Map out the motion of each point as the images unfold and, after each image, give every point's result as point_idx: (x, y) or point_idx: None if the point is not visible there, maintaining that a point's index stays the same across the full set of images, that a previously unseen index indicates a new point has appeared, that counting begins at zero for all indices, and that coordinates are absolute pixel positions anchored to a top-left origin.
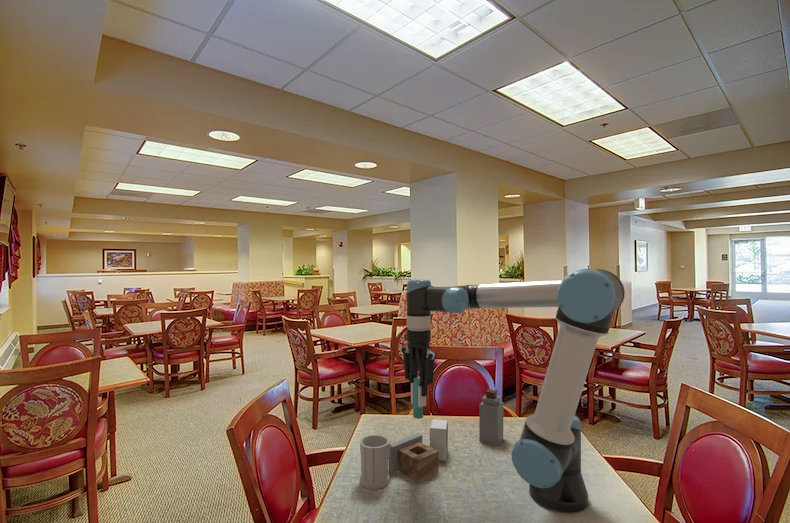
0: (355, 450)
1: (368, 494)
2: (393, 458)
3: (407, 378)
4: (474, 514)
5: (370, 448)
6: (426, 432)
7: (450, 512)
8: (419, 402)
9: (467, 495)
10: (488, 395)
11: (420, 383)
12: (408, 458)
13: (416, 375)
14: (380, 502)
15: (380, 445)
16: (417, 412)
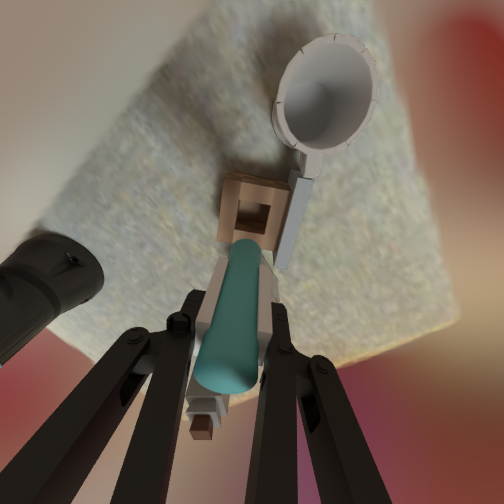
0: (412, 193)
1: (284, 58)
2: (293, 175)
3: (311, 359)
4: (100, 150)
5: (310, 42)
6: (317, 320)
7: (128, 126)
8: (217, 267)
9: (145, 193)
10: (203, 421)
11: (189, 334)
12: (254, 183)
13: (259, 398)
14: (244, 51)
15: (321, 144)
16: (235, 248)
